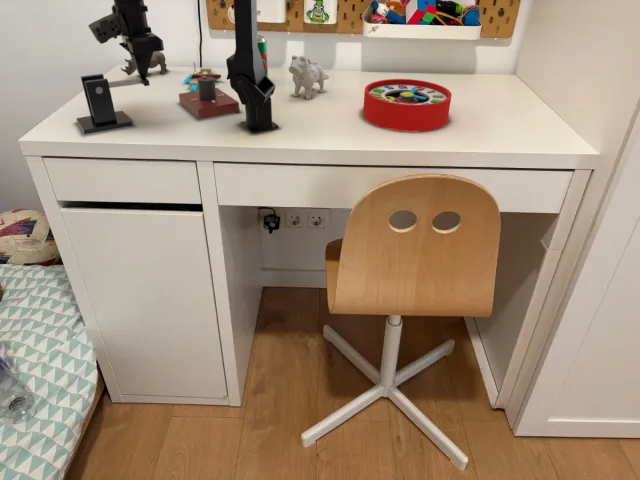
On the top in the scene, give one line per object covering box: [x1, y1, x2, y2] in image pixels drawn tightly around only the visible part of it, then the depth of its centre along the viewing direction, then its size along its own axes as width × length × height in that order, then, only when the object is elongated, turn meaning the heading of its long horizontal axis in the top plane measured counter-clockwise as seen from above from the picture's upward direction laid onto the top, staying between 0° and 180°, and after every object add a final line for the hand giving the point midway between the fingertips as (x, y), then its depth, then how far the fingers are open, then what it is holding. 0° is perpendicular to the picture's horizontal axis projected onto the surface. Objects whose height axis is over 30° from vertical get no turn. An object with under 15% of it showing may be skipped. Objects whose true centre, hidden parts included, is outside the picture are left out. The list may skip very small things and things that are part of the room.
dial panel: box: [178, 87, 240, 120], centre depth 118 cm, size 13×10×3 cm
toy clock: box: [362, 78, 453, 133], centre depth 115 cm, size 20×6×20 cm
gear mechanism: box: [184, 61, 222, 92], centre depth 135 cm, size 20×5×9 cm
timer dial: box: [197, 75, 217, 100], centre depth 116 cm, size 4×4×5 cm
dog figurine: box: [288, 54, 325, 100], centre depth 125 cm, size 5×13×11 cm, turn 150°
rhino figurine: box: [120, 51, 168, 78], centre depth 139 cm, size 4×14×6 cm, turn 130°
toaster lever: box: [87, 74, 150, 89], centre depth 106 cm, size 12×5×2 cm, turn 123°
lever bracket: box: [75, 73, 133, 135], centre depth 106 cm, size 10×8×10 cm
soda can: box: [257, 34, 269, 78], centre depth 133 cm, size 5×5×12 cm
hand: (143, 78), depth 108 cm, fingers closed, pressing on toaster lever
